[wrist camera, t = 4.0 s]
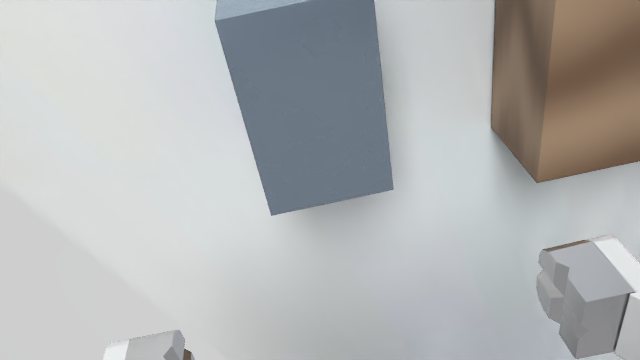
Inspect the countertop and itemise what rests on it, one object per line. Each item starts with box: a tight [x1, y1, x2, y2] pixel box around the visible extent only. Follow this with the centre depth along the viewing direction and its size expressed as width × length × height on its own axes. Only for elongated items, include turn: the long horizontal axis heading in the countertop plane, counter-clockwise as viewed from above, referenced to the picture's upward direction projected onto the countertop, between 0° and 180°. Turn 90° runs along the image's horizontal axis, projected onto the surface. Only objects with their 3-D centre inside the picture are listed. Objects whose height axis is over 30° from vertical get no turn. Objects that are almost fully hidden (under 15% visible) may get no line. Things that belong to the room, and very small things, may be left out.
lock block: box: [215, 0, 393, 216], centre depth 21 cm, size 8×5×6 cm, turn 10°
